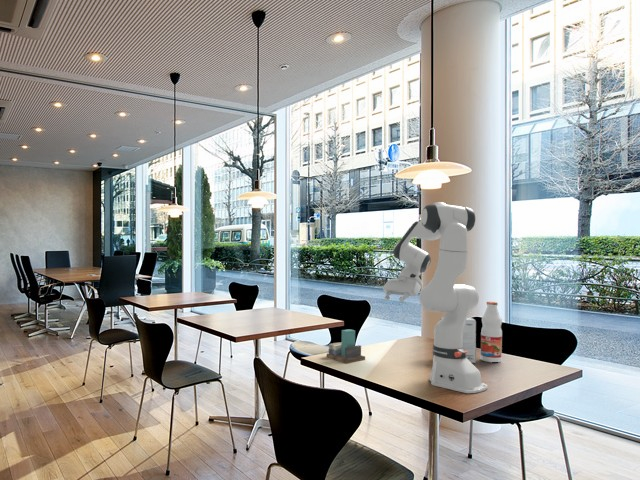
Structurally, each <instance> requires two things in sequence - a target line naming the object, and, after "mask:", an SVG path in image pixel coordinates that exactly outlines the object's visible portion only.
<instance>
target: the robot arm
mask: <svg viewBox="0 0 640 480" xmlns="http://www.w3.org/2000/svg"><path fill="white" fill-rule="evenodd" d="M420 218H421V220H420V221H415V222H413V223H412V225H411V226H410V227H409V228H408V229H407V230H406V232H405V233H404V235H403V236H402V237H401V238H400V240H399V241H397V243H396V244H395V245H394V247H393V250H392V255H393V256H394V258H395V259H396V260H399V261H401V262H403V263H404V264H405V266H404V267H403V268H402V269H401V271H400V273H399V274H398V276H397V277H393V278H391V279H388V280H387V281H386V283H385V284H384V285H383V287H382V291H383V292H384V294H385V296H384V299H385V300H386V301H389V300H390V296H391V295H395V296H396V295H397V296H400V297H399V298H398V299H399V302H401V303H403V302H404V301H405V300H407V299H408V298H409V297H416V296H418V295H419V296H418V297H419V298H418V299H419V303H420V305H421V307H422V309H424V310H425V311H428V312H433V313H443V312H444V314H443V317H441V318H442V319H441V320H440V319H439V321H437V323H435V325H434V328H433V329H434V331H433V336H434V337H433V341H434V342H433V345H432V356H433V359H432V368H431V371H430V375H429V378H428V380H429V381H430V384H431V385H432V386H435V387H438V388H443V389H447V390H452V391H456V392H460V393H464V394H476V393H482V392H484V391H486V390H487V389H488V384H486V383H484V382H482V376H481V374H482V373H481V372H480V370H479V369H478V368H477V367H476V366H475V365H474V363H471V362H470V361H469V360H468V359H467V358H466V354H468V353H467V352H468V351H465V350H464V348H463V329H464V325H465V321H466V319H467V318H469V315H470V314H471V312H472V310H473V309H475V308H476V307H477V305H479V298H480V297H479V293H478V290H477V289H476V288H475V287H474V286H473V285H467V284H464V283H456V282H457V280H458V278H459V277H460V276H462V275H463V274H464V273H465V272H466V270H467V263H468V262H467V261H468V251H469V236H468V232H470V231H471V230H472V229H473V228H474V226H475V224H476V214H475V212H474V210H473V209H472V208H470V207H469V206H468V207H467V206H459V205H451V204H446V202H443V201H438V202H437V201H436V202H434V203H433V204H428V205H425V207H424V208H423V209H422V212H421V217H420ZM413 238H416V239H422V240H425V241H436V240H440V241H439V246H438V247H439V248H438V257H437V264H436V269H435V272H434V274H433V276H432V278H431V279H430V281H429V282H428V284H427V285H425V286H424V287H423V285H424V283H423V281H422V279H421V278H420V275H422V273H425V272H426V270H427V268H429V266H430V264H431V262H432V261H431V260H432V259H431V256H430V253H428V252H427V251H425V250H423V249H422V248H420V247H418V246H416V245H414V244H413V243H411V240H412V239H413ZM422 287H423V288H422Z"/></svg>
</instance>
